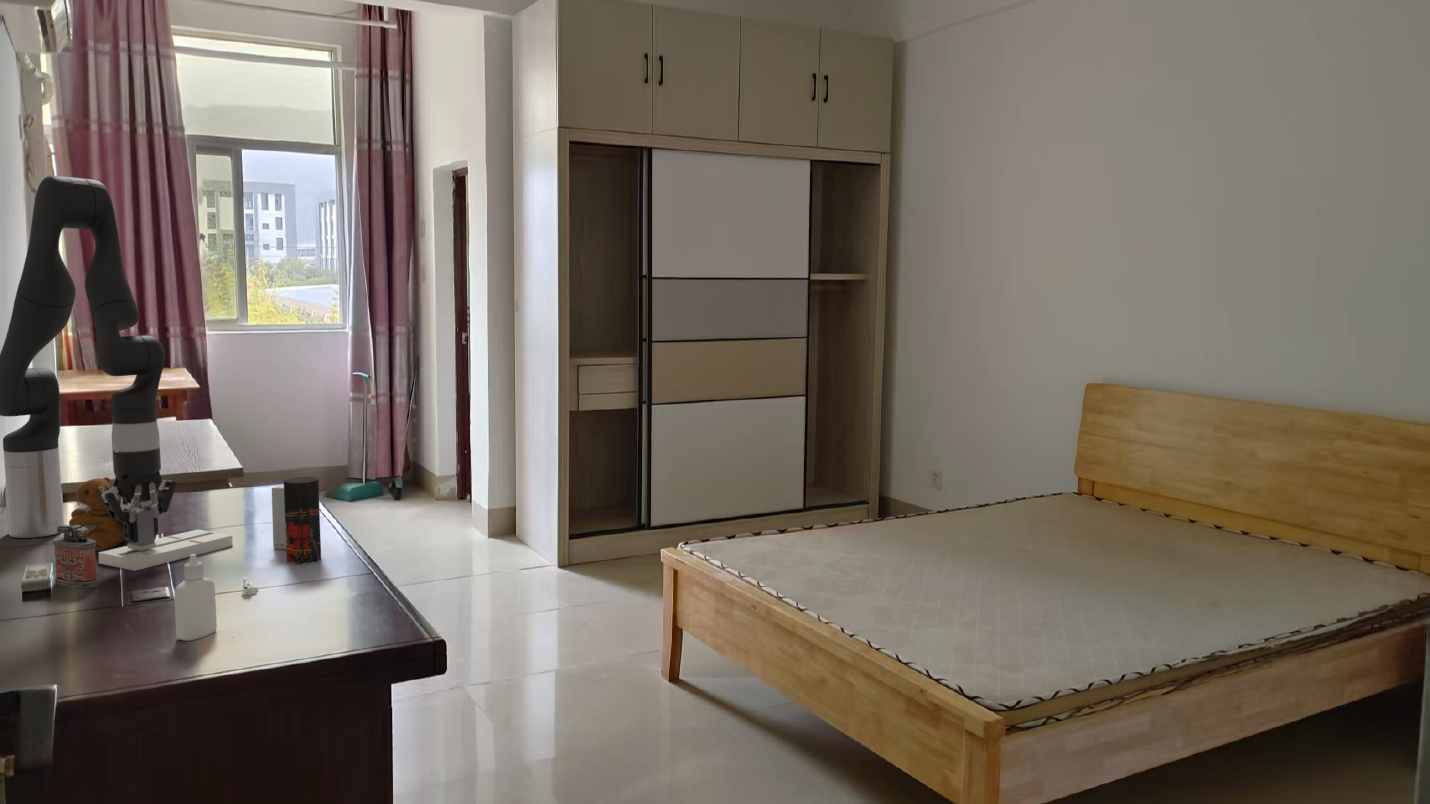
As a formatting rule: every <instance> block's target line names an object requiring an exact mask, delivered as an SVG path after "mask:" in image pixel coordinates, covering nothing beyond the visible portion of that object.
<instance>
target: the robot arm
mask: <svg viewBox="0 0 1430 804" xmlns="http://www.w3.org/2000/svg"><path fill="white" fill-rule="evenodd" d="M34 197H35V198H34V202H33V203H34V204H33V210H32V219H31V224H30V225H31V226H30V232H29V233H30V234H29V240H28V246H27V250H26V256H25V260H24V264H23V268H22V272H21V276H20V279H19V282H18V285H17V290H16V294H15V297H14V302H13V306H12V307H13V308H12V312H11V316H10V320H9V324H8V328H7V332H6V336H5V339H4V342H3V344H2V348H1V350H0V417H21V416H29V418H28V421H27V422H25V423H24V425H22V426H21V427H20V428H18V429H16V430H14V431H12V432H10V433H7V434H6V435H4V437H3V438H2V450H3V461H4V462H3V464H4V475H5V476H4V477H5V478H4V479H5V487H4V493H5V495H4V496H5V509H6V510H5V511H6V523H7V524H6V525H7V533H8V534H9V535H8V536H9V537H10V538H16V539H17V538H18V539H27V538H28V539H30V538H32V539H33V538H41V537H49V536H52V535H56V534H58V533H57V527H58V525H65V524H64V510H63V496H62V495H63V494H62V478H61V466H60V465H61V463H60V462H61V461H60V448H59V438H60V433H61V410H60V409H61V397H60V396H61V393H60V385H59V381H58V378H57V376H56V374H55V372H54V371H52V370H51V369H49V368H47V367H30V365H31V363H32V361H33V360H34V358H35V357H36V356H37V355H38V354H39V353H40V352H41V351H42V350H43V349H44V348H46V346H47V345H49V344H50V342H51V341H52V342H53V340H54V339H55V338H56V337H57V336H58V335H59V334H60V333H61V332H62V331H63V330H64V329H65V328H66V326H67V324H68V323H69V321H70V317H71V314H72V311H73V307H74V303H75V299H76V292H77V291H76V285H75V282H74V279H73V278H72V275H71V274H70V271H69V270H68V268H67V266H66V264H65V262H64V260H63V258H62V256H61V253H60V238H61V234H62V231H63V230H64V229H74V230H76V229H79V230H89V231H90V233H91V235H92V237H93V241H94V246H95V247H94V252H93V256H92V259H91V261H90V264H89V266H88V269H87V273H86V275H85V280H84V289H85V294H86V298H87V300H88V304H89V306H90V310H91V312H92V315H93V318H94V321H95V323H94V324H95V331H96V335H95V336H96V362H97V364H98V366H99V368H100V369H101V371H102V372H104V373H105V374H106V375H108V376H110V377H125V376H126V377H128V376H135V378H134V381H133V383H132V384H131V385H130V386H127V387H125V388H121V389H117V390H115V391H114V392H113V393H112V394H111V418H112V419H111V420H112V421H111V423H112V425H111V427H112V429H111V447H112V449H111V450H112V451H111V452H112V466H113V467H112V468H113V473H114V476H115V478H114V482H113V484H112V487H111V489H109V490H107V491H106V492H104V491H102V492H100V493H99V497H100V499H101V501H102V502H103V504H104V506H105V508H106V510H107V512H108V513H109V515H110V517H111V519H112V520H117V521H121V522H122V523H123V531H124V538H125V540H127V542H130V543H135V542H137V524H136V522H135V520H136V511H137V510H138V508H139V502H140V503H141V505H142V506H143V509H147V510H153V521H154V539H157V535H158V533H159V521H158V520H159V518H158V517H159V516H160V515H162V514H164V513H167V512H168V510H169V508H170V505H171V501H172V499H173V496H174V492H175V490H176V488H177V487H176V486H177V482H176V481H173V480H169V479H163V477H162V475H161V473H160V471H161V470H162V469H161V468H162V463H161V445H160V444H161V442H160V441H161V440H160V439H161V438H160V430H159V426H158V416H157V395H158V392H159V386H160V381H161V377H162V373H163V370H164V367H165V360H166V353H165V349H164V346H163V344H162V343H161V341H160V340H159V339H157V337H156V336H155V337H154V336H152V335H128V336H125V335H124V336H121V334H120V331H121V332H122V331H124V330H127V329H130V328H132V327H134V326H136V325H137V324H138V323H139V321H140V312H139V310H138V307H137V303H136V300H135V298H134V296H133V295H134V294H133V292H132V290H131V287H130V283H129V280H128V278H127V275H126V271H125V267H124V262H123V255H122V249H121V243H120V242H121V241H120V235H119V231H118V226H117V225H118V224H117V220H116V219H117V218H116V214H115V213H116V212H115V208H114V204H113V201H112V197H111V194H110V192H109V190H108V188H107V187H106V185H105V184H103V183H102V182H101V181H98V180H95V179H90V178H83V177H82V178H80V177H71V176H60V175H59V176H58V175H49V176H46V177H44V178H43V179H42V180H41V181H40V183H39V185H38V188H37V190H36V193H35V196H34ZM157 492H158V494H157ZM118 495H119V496H120V497H121V505H119V503H118V499H119V496H118ZM129 503H131V504H129Z"/></svg>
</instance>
